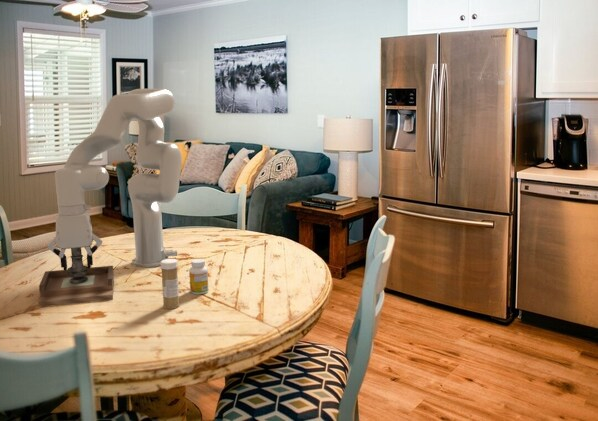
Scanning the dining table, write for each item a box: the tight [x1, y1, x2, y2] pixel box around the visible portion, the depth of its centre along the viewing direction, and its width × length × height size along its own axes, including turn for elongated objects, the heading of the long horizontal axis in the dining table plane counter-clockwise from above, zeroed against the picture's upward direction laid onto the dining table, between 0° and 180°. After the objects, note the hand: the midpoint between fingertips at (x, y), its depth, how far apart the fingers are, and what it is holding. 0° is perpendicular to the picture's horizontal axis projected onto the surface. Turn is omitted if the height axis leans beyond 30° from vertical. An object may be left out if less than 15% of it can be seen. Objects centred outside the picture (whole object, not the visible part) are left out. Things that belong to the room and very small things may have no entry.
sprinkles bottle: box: [160, 258, 180, 310], centre depth 165 cm, size 5×5×14 cm
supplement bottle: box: [189, 258, 209, 295], centre depth 178 cm, size 5×5×10 cm
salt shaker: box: [67, 248, 88, 283], centre depth 178 cm, size 6×6×12 cm
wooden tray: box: [37, 265, 115, 308], centre depth 178 cm, size 20×18×5 cm
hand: (77, 267), depth 179 cm, fingers open, 6 cm apart
